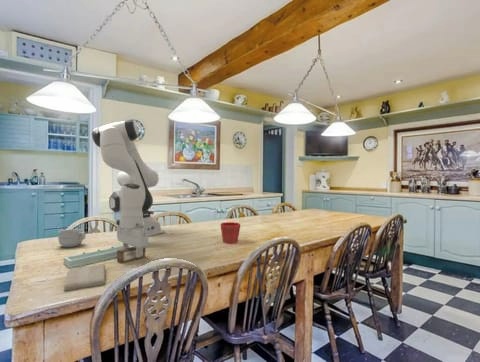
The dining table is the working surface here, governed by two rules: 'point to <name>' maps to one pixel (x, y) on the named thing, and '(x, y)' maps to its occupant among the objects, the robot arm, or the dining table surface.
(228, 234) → the flower pot
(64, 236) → the teacup
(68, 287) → the washcloth
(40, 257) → the dining table surface
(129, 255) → the wooden block
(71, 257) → the ledge
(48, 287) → the dining table surface
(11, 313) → the dining table surface
